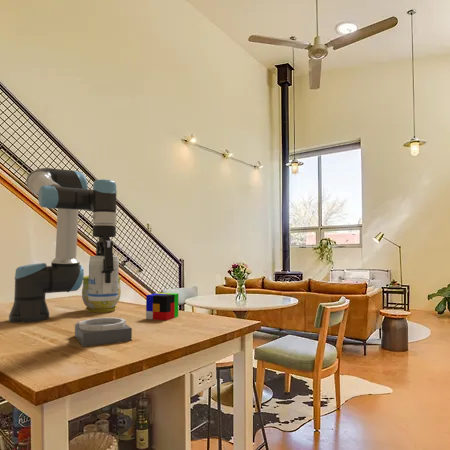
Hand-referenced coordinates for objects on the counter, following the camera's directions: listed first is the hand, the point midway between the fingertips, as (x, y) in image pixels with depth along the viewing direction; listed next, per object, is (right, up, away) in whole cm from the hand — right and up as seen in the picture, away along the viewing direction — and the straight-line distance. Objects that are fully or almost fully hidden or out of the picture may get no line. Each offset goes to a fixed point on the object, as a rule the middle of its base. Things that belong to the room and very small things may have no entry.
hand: (103, 291), depth 125 cm
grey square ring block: (0, -15, -1) cm, 15 cm away
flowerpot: (-19, -19, +54) cm, 60 cm away
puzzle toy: (+14, -18, +36) cm, 43 cm away
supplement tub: (0, -3, 0) cm, 3 cm away
